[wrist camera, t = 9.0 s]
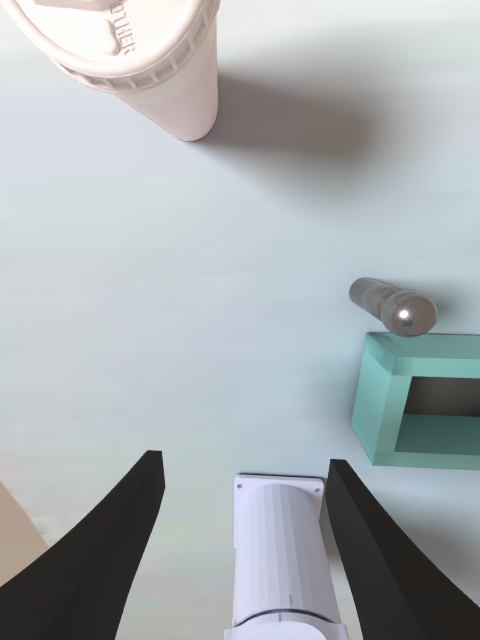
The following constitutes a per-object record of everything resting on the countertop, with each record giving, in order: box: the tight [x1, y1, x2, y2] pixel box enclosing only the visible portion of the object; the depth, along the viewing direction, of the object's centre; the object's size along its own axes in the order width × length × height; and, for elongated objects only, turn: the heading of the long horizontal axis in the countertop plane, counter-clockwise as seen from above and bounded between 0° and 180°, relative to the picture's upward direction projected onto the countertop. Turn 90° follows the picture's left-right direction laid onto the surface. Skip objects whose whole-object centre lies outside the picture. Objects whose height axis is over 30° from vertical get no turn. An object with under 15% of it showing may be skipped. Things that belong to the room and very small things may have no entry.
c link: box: [351, 333, 480, 470], centre depth 18 cm, size 8×11×4 cm
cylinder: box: [349, 278, 438, 338], centre depth 15 cm, size 2×2×7 cm
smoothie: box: [1, 0, 220, 141], centre depth 9 cm, size 6×6×14 cm
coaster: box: [403, 334, 480, 417], centre depth 20 cm, size 10×10×1 cm
